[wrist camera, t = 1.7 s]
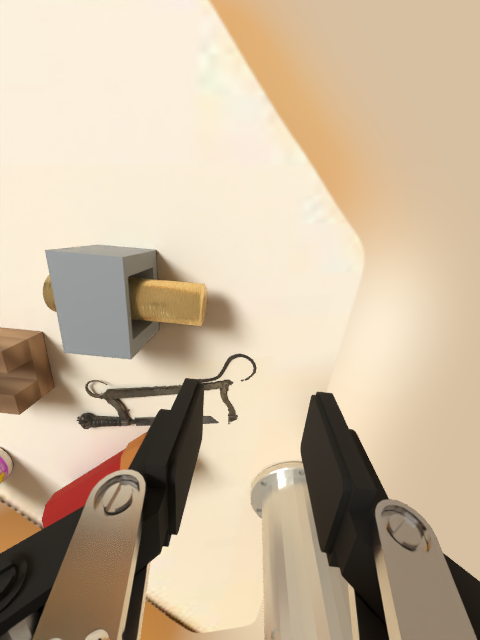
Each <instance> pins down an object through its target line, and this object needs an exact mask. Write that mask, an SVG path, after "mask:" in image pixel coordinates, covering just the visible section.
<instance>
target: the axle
mask: <svg viewBox="0 0 480 640" xmlns="http://www.w3.org/2000/svg"><path fill="white" fill-rule="evenodd" d="M128 285H129V298H130V311H131V319H135V320H145V321H156V322H166V323H176V324H187V325H197V326H202V324H203V322H204V318H205V313H206V304H207V290H206V285H205V284H199V283H188V282H178V281H167V280H156V279H145V278H134V277H128ZM43 297H44V300H45V303H46V305H47V306H48V307H49V308H50V309H51V310H53V311H55V312H57V311H56V305H55V300H54V295H53V290H52V284H51V279H50V275H49V276H48V277H47V278H46V280H45V283H44V286H43Z"/></svg>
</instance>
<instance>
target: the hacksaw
mask: <svg viewBox="0 0 480 640" xmlns="http://www.w3.org/2000/svg"><path fill="white" fill-rule="evenodd" d="M236 357H244V358H246V359H248V360H250V361H251V363H252V364H253V367H254V369H253V373H252V374H251V376H249V377H248V378H246V379H245V380H248V379H249V378H250V377H252V376H253V375H254V374H255V373H256V365H255V363H254V361H253V360H252V359H251V358H250V357H248V356H246V355H244V354H235V355H233V356H231V357H229V358H228V360H227V361H226V363H225V365H224V367H223V369H222V370H221V372H220V374H218V376H216V377H214V378H210V379H198V380H199V381H200V383H202V382H208V381H213V380H216V379H218V378H219V377H221V375H222V374H223V372H224V371H225V369H226V367H227V366H228V363H229V362H230V361H231V360H232V359H234V358H236ZM94 381H98V380H92V381H89V382H88V383H87V384H86V386H85V388H86V391H87V393H88V394H89V395H90V396H92V397H94V398H101V399H103V398H104V399H105V400H106V401H107V402H108V403H109V404H111V405H112V406H113V407H115V409H116V410H117V412H118V415H119V417H111V416H110V417H107V416H95V415H93V414H91V413H86V414H85V413H84V414H82V415H81V417H77V418H78V419H79V420H77V421H79V424H80V425H81V426H82V427H83V428H84V429H89V428H90V427H102V426H128V425H131V424H136V426H140V425H141V426H143V425H144V426H146V425H147V426H148V425H150V426H151V425H152V423H153V421H154V419H155V417H147V418H135V420H131V418H130V417H128V416H127V412H128V411H130V409H129V410H128V411H127V412H126V411H125V409H124V406H123V405H122V404H121V403H120V402H119V400H117V398H129V397H143V396H144V397H145V396H155V395H167V394H170V395H171V394H178V393H179V391H180V389H181V387H182V386H181V385H179V386H169V387H166V386H162V387H157V386H155V387H154V388H150V387H142V388H122V389H107V391H106V392H105V393H101V394H100V395H97V394H93V393H92V392H91V391H90V390H89V389H88V384H89V383H90V382H94ZM241 381H244V380H241ZM98 382H101V381H98ZM101 383H103V382H101ZM104 384H105V383H104ZM202 384H204V390H210V389H218V388H220V391H221V392H220V394H221V398H222V400H223V402H224V403H225V404H226V405H227V407H228V408H229V409H228V411H229V414H228V416H229V419H228V424H230V423H229V422H232V421H234V420H237V415H235V414H236V413H235V410H234V407H233V406H232V404H231V403H230V401H229V400H228V396H227V391H228V386H229V385H231V384H233V382H232V381H230V380H224V381H217V382H214V383H213V382H210V383H202ZM106 385H107V384H106ZM210 423H211V424H212V423H219V422H218V421H216V420H215V419H213V417H211V416H203V424H210Z"/></svg>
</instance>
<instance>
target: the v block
mask: <svg viewBox="0 0 480 640" xmlns="http://www.w3.org/2000/svg"><path fill="white" fill-rule="evenodd" d="M53 388H54V384H53V379H52V374H51V370H50V365H49V361H48V356H47V351H46V347H45V342H44V337H43V333H42V332H40V331H30V330H20V329H10V328H0V413H8V414H18V415H20V414H21V413H22V412H24V411H25V410H26V409H28V408H29V407H30V406H31V405H33V404H34V403H35V402H36V401H38V400H39V399H40V398H41V397H43V396H44V395H45V394H47V393H48V392H49V391H50V390H52V389H53Z"/></svg>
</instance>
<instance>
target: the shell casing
mask: <svg viewBox="0 0 480 640" xmlns="http://www.w3.org/2000/svg"><path fill="white" fill-rule="evenodd" d="M146 434H147V432H146V433H144V434H143V435H141V436H140V437H138V438H136V439H135V440H133V441H132V442H130V443H129V444H128V445H127V447H126V449H124V450H123V451H121V452H119V453H118V454H116V455H115V456H113V457H111V458H110V459H108V460H107V461H105V462H103V463H102V464H100V465H99V466H97V467H95V468H94V469H92V470H91V471H89V472H88V473H86V474H84V475H83V476H81V477H80V478H78V479H76V480H75V481H73V482H72V483H70V484H68V485H67V486H65V487H64V488H62V489H60V490H59V491H57V492H56V493H54V495H53V496H52V497H51V499H50V500H49V501H48V503H47V504H46V505H45V509H44V513H43V517H42V522H43V526H44V528H46V527H48V526H49V525H51V524H53V523H55V522H56V521H58V520H60V519H62V518H63V517H65V516H67V515H69V514H70V513H72V512H74V511H76V510H77V509H79V508H81V507H83V506H84V505H85V504H86V502H87V499H88V496H89V495H90V493H91V491H92V489H93V488H94V487H95V486H96V484H97V483H98V482H99V481H100V480H102V479H103V478H104V477H106V476H107V475H109V474H111V473H113V472H116V471H120V470H124V469H125V470H128V468H129V466H130V464H131V462H132V461H133V459H134V457H135V455H136V453H137V451H138V449H139V447H140V445H141V444H142V442H143V440H144V438H145V436H146Z"/></svg>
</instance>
